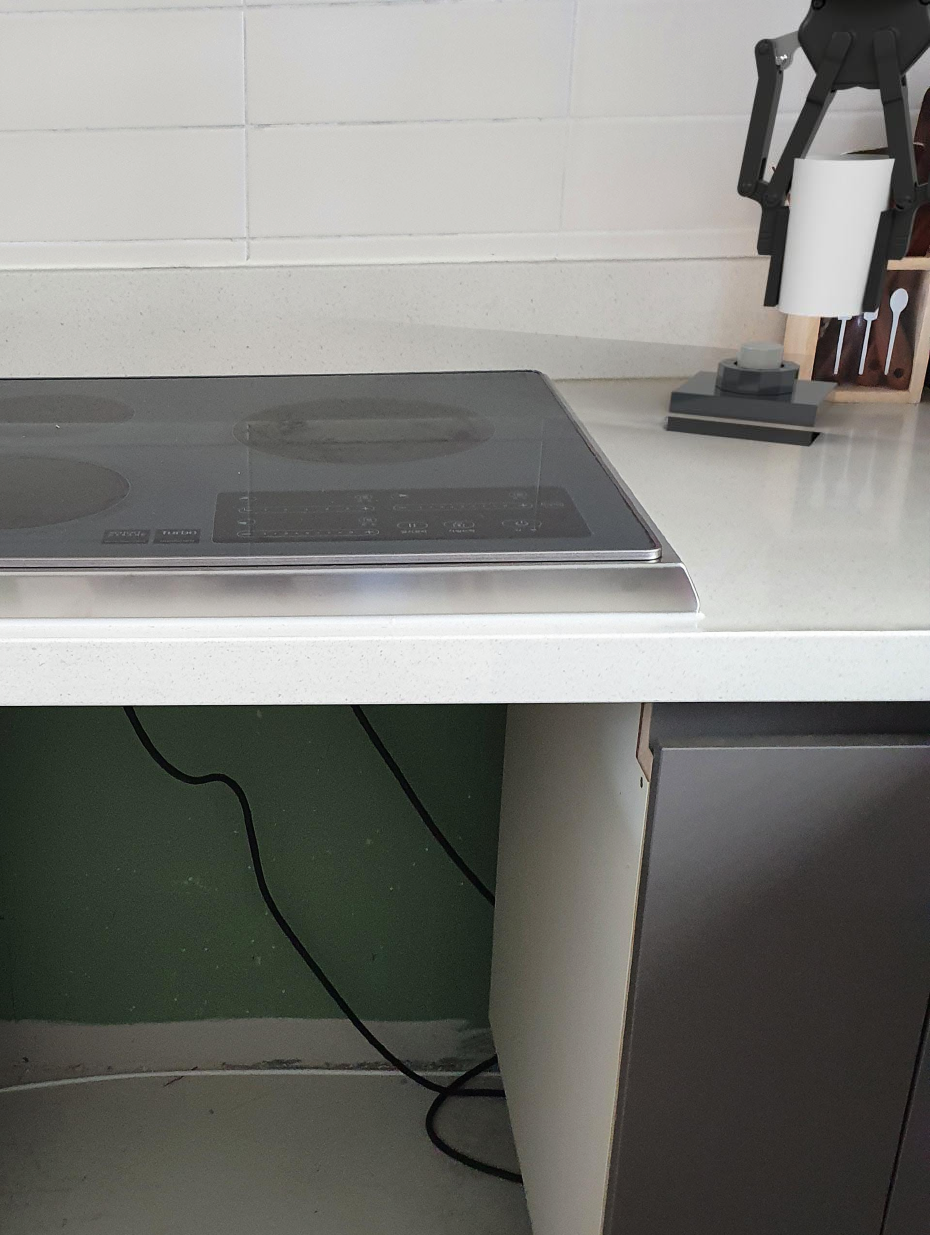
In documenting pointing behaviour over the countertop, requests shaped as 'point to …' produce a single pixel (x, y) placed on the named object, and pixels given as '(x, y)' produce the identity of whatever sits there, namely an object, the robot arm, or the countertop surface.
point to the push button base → (752, 403)
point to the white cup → (833, 232)
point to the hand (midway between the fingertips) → (821, 305)
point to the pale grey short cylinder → (760, 355)
